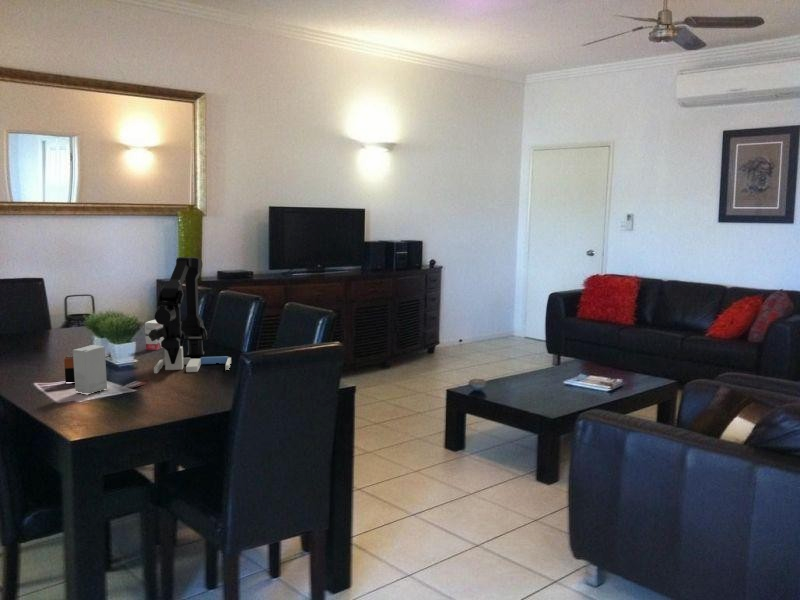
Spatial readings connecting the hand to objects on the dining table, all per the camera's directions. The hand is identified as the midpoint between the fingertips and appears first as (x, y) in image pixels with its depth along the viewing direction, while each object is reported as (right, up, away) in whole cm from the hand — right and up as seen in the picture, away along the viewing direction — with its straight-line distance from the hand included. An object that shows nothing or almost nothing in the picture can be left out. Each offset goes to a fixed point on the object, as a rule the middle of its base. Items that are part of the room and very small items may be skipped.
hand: (174, 361), depth 270 cm
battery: (-27, -6, -21) cm, 35 cm away
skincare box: (-16, -7, -34) cm, 38 cm away
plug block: (0, -3, 0) cm, 3 cm away
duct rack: (+7, -2, +1) cm, 7 cm away
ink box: (-20, +2, +38) cm, 43 cm away
